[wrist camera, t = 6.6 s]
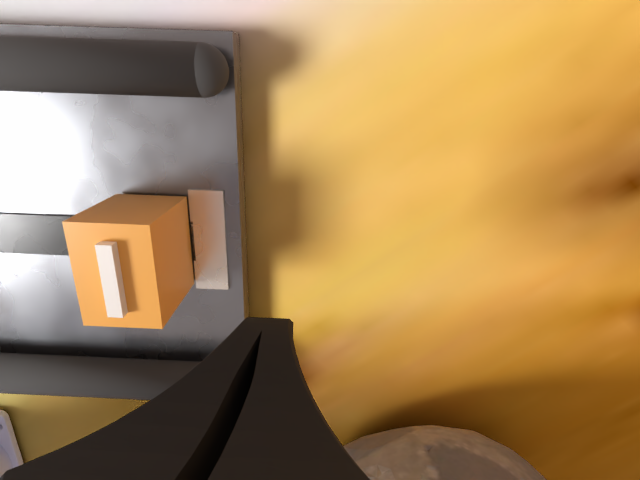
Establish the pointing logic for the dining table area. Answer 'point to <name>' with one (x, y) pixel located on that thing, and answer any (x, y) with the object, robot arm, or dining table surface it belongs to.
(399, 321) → the dining table surface
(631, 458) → the dining table surface
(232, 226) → the panel
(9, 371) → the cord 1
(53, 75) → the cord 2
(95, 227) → the toggle
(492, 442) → the gray stone pot
